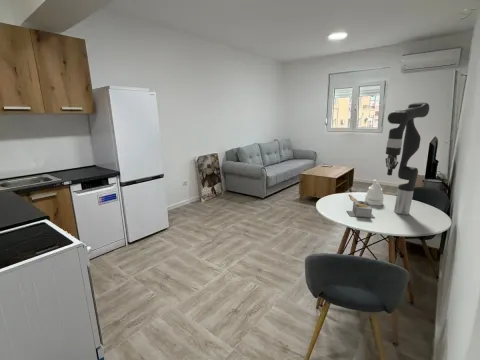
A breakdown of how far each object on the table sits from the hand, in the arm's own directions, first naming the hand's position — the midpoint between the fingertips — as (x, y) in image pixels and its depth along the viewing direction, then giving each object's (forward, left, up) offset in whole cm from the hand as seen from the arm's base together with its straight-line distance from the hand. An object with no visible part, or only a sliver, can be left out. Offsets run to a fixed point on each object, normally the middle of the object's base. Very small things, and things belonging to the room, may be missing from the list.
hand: (389, 175), depth 157 cm
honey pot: (-44, +11, -32) cm, 56 cm away
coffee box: (-8, -8, -28) cm, 30 cm away
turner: (-52, -3, -32) cm, 61 cm away
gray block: (-14, -8, -32) cm, 36 cm away
